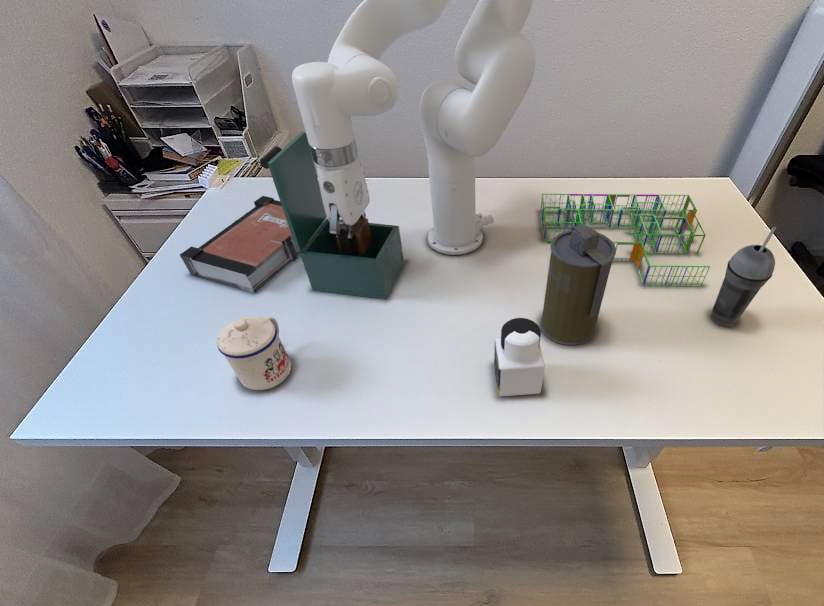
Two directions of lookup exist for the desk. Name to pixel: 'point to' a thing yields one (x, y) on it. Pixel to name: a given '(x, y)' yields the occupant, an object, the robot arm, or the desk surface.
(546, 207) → the house model
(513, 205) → the desk surface
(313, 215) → the lid
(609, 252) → the canister
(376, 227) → the tin
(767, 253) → the beverage cup
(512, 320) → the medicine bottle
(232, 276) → the book
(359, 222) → the block
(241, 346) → the teacup with lid
